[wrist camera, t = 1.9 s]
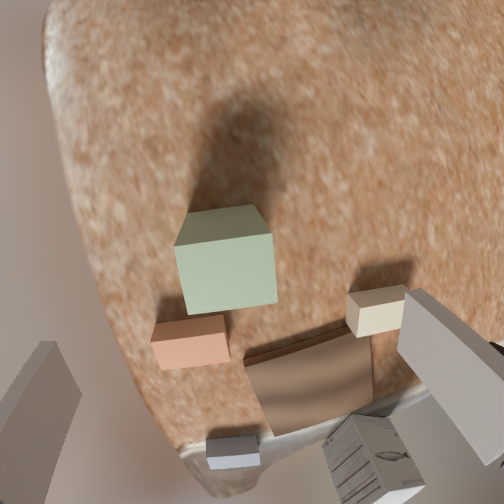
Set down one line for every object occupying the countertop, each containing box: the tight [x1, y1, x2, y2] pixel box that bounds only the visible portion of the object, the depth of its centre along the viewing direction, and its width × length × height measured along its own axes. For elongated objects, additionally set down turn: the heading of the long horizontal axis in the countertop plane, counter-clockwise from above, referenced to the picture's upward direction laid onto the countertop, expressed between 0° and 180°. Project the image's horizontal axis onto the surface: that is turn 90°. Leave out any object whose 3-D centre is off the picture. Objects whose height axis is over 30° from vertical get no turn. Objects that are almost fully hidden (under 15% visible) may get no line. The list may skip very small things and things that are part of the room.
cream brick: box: [345, 284, 410, 338], centre depth 26 cm, size 6×3×3 cm, turn 94°
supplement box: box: [321, 414, 426, 504], centre depth 29 cm, size 7×7×13 cm
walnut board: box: [243, 325, 373, 437], centre depth 29 cm, size 12×12×1 cm
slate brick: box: [206, 435, 260, 469], centre depth 31 cm, size 6×3×3 cm, turn 94°
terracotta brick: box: [150, 314, 231, 370], centre depth 25 cm, size 6×3×3 cm, turn 98°
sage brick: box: [174, 204, 278, 315], centre depth 20 cm, size 4×5×8 cm
